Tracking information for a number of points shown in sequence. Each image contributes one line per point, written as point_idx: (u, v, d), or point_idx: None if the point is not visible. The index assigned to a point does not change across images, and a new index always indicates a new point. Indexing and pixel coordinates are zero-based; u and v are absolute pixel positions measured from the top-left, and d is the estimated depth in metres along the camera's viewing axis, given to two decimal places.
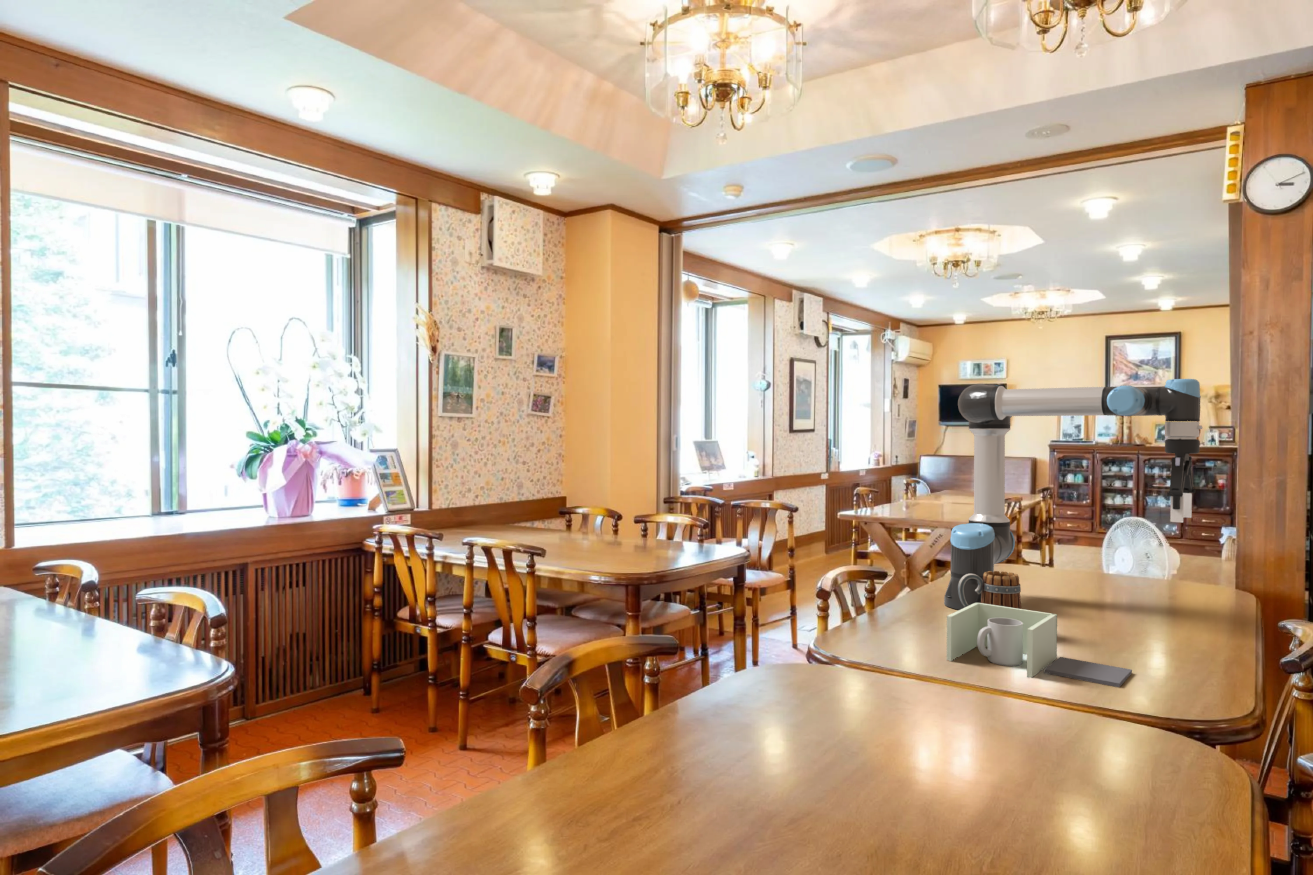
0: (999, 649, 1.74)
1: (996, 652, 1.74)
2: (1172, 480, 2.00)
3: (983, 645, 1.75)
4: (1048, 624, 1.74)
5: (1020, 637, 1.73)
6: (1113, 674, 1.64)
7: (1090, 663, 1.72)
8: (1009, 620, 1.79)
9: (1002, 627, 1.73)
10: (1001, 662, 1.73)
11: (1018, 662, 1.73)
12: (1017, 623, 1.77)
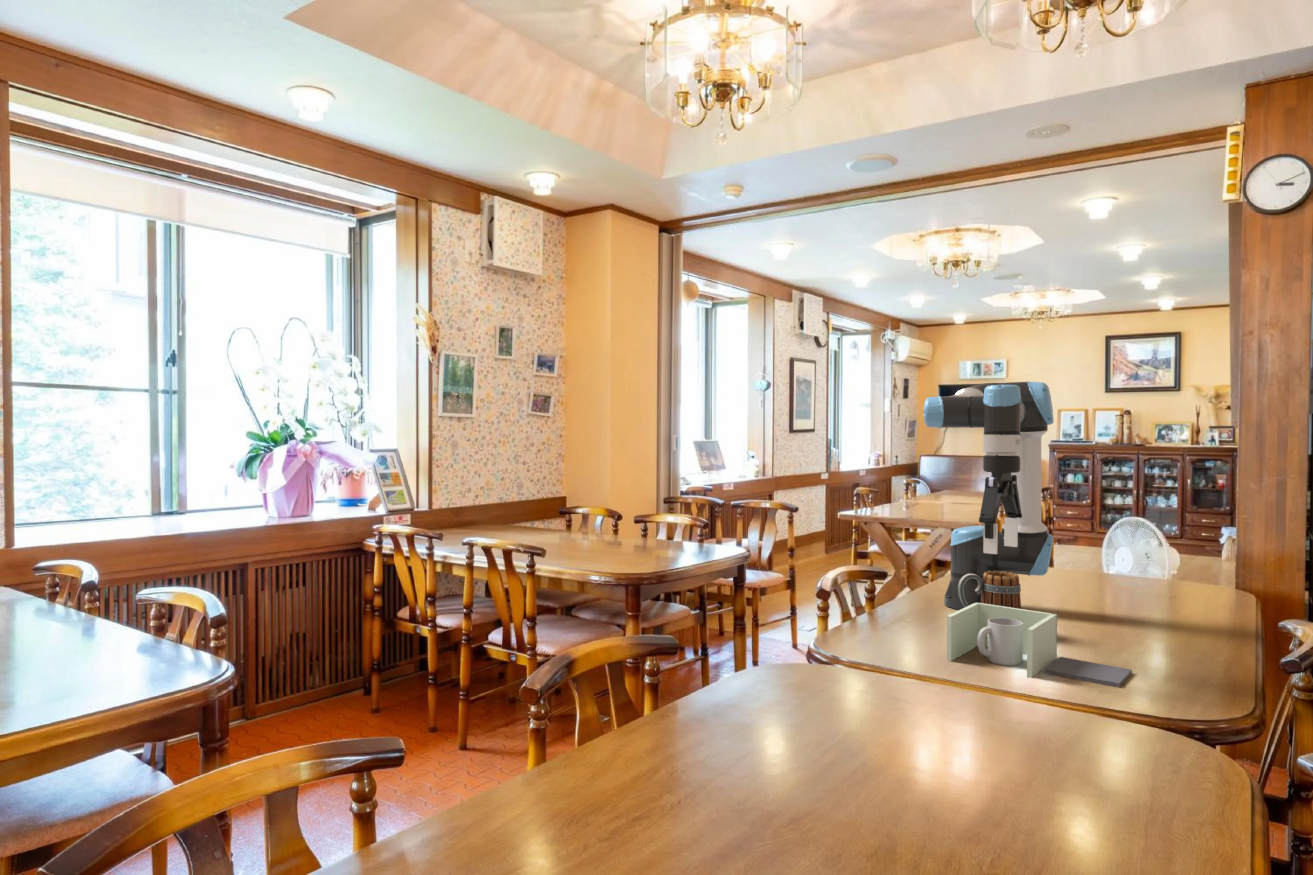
0: (999, 649, 1.74)
1: (996, 652, 1.74)
2: (983, 504, 1.70)
3: (983, 645, 1.75)
4: (1048, 624, 1.74)
5: (1020, 637, 1.73)
6: (1113, 674, 1.64)
7: (1090, 663, 1.72)
8: (1009, 620, 1.79)
9: (1002, 627, 1.73)
10: (1001, 662, 1.73)
11: (1018, 662, 1.73)
12: (1017, 623, 1.77)
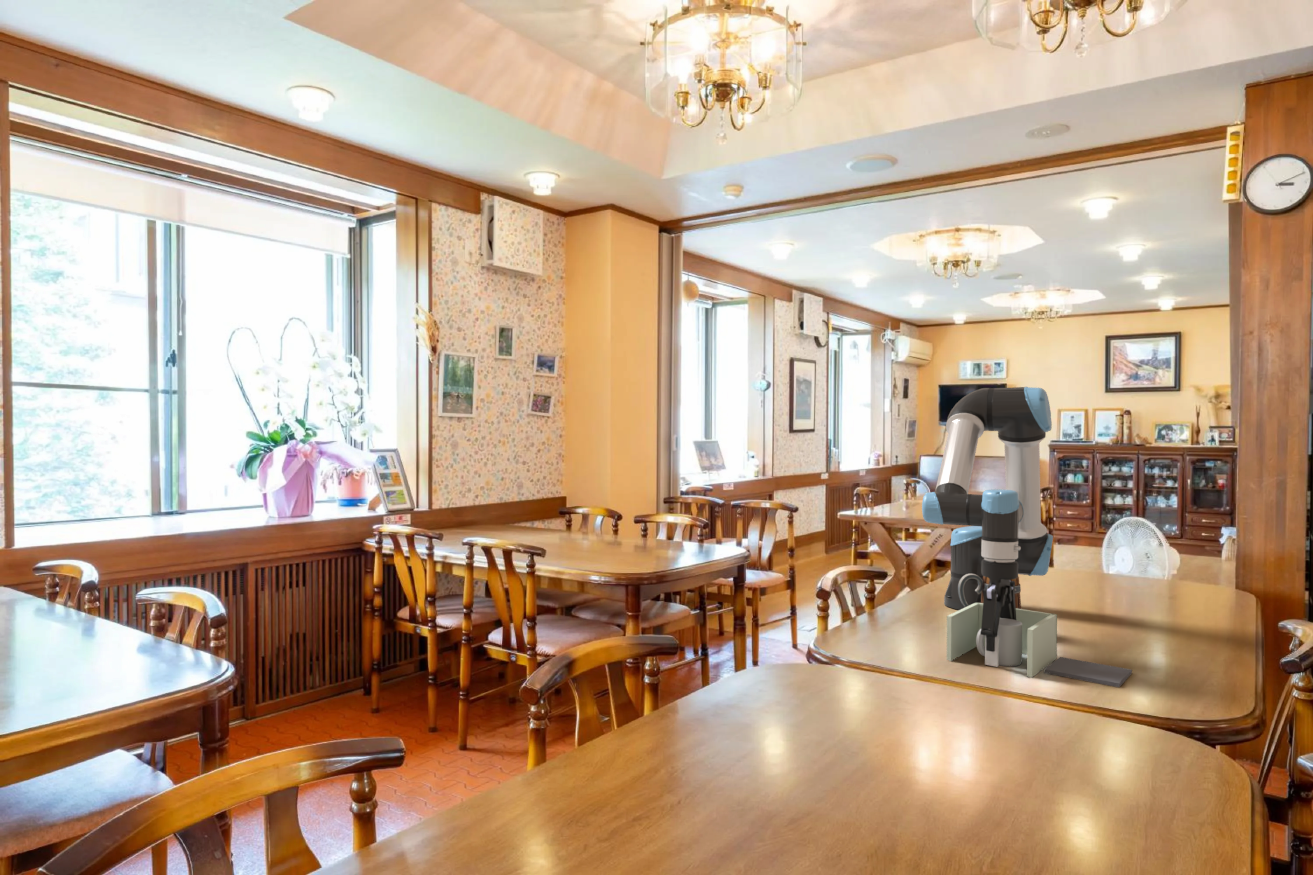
0: None
1: None
2: (984, 617, 1.71)
3: (982, 645, 1.75)
4: (1048, 624, 1.74)
5: (1019, 637, 1.73)
6: (1113, 674, 1.64)
7: (1090, 663, 1.72)
8: (1009, 620, 1.78)
9: (1001, 627, 1.73)
10: (1000, 662, 1.73)
11: (1017, 662, 1.73)
12: (1016, 623, 1.77)
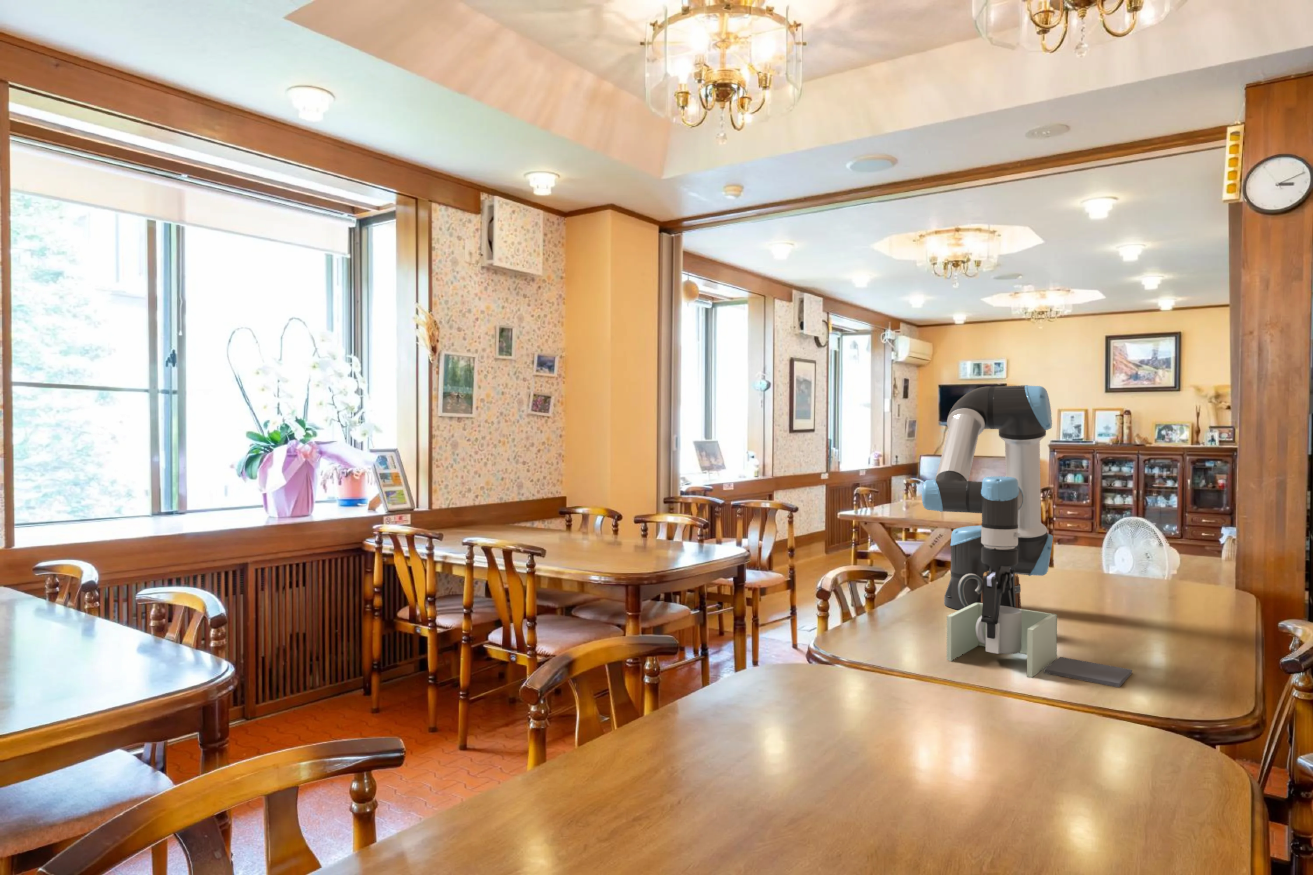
0: None
1: None
2: (984, 605, 1.71)
3: (981, 633, 1.75)
4: (1048, 624, 1.74)
5: (1019, 625, 1.73)
6: (1113, 674, 1.64)
7: (1090, 663, 1.72)
8: (1008, 608, 1.78)
9: (1000, 615, 1.73)
10: (999, 650, 1.73)
11: (1016, 650, 1.73)
12: (1016, 611, 1.77)
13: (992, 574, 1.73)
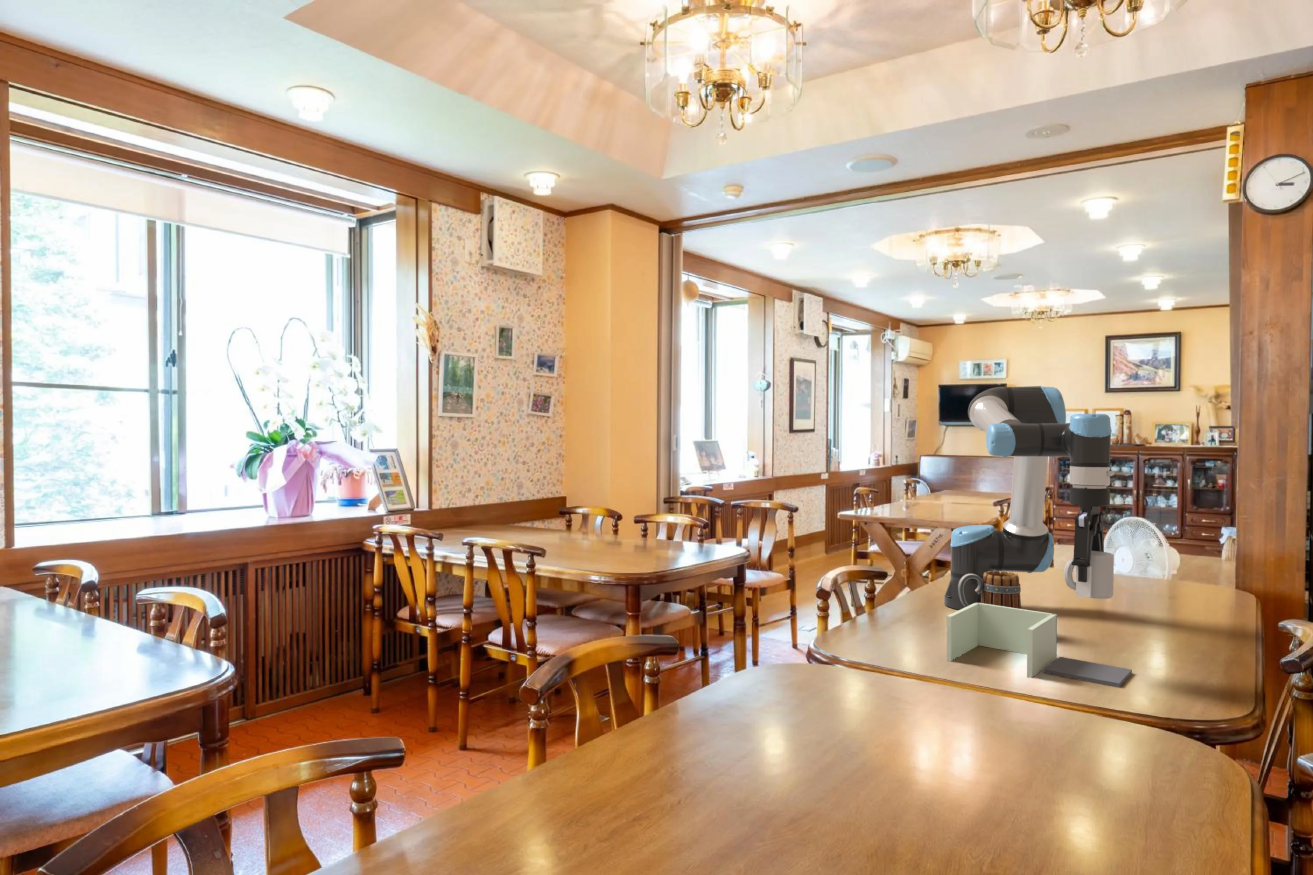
0: None
1: None
2: (1076, 546, 1.63)
3: (1071, 577, 1.66)
4: (1048, 624, 1.74)
5: (1111, 568, 1.64)
6: (1113, 674, 1.64)
7: (1090, 663, 1.72)
8: (1097, 553, 1.70)
9: (1092, 558, 1.64)
10: (1091, 595, 1.64)
11: (1109, 595, 1.64)
12: (1107, 555, 1.68)
13: (1083, 514, 1.64)
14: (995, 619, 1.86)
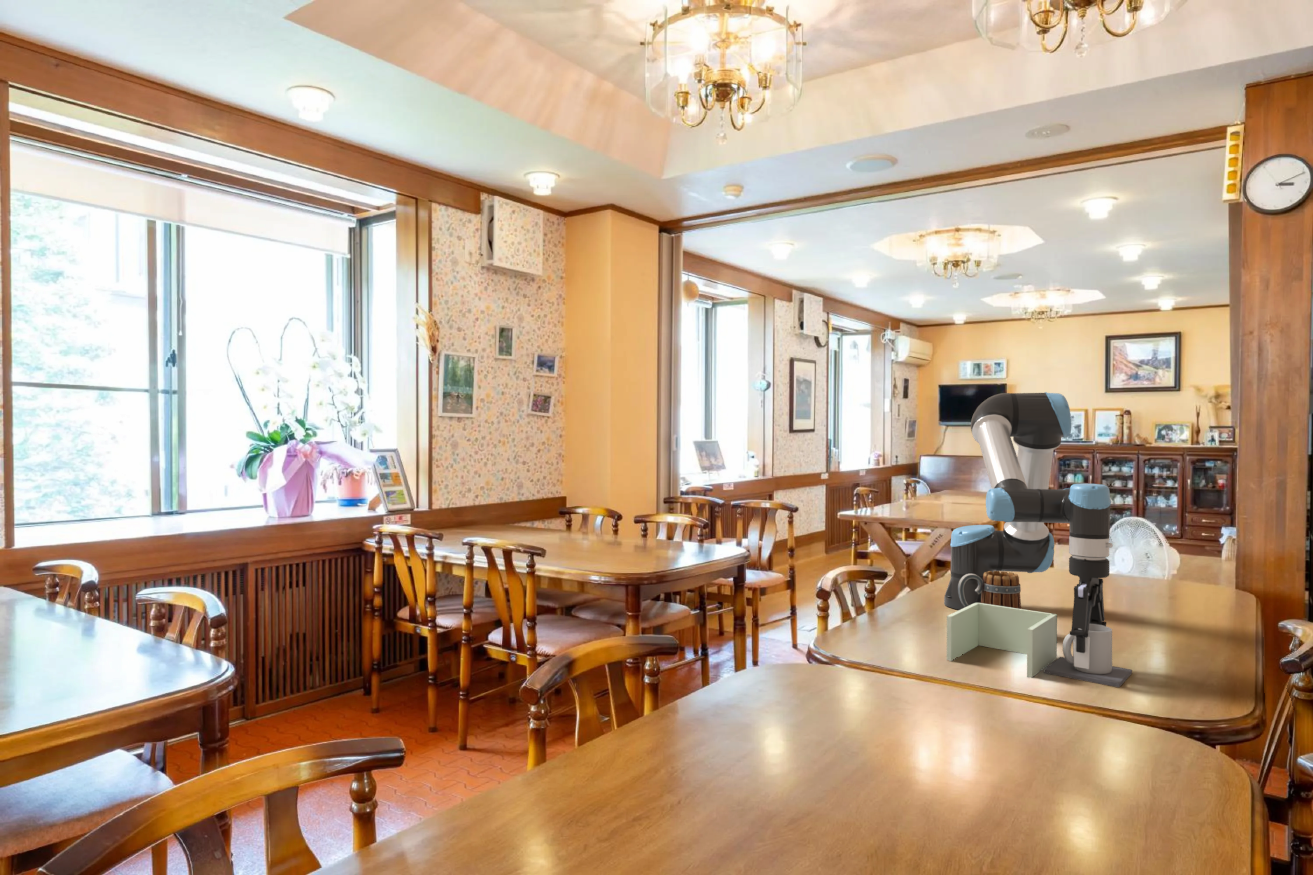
0: None
1: None
2: (1074, 617, 1.62)
3: (1069, 652, 1.67)
4: (1048, 624, 1.74)
5: (1109, 644, 1.65)
6: (1113, 674, 1.64)
7: None
8: (1096, 626, 1.70)
9: (1090, 633, 1.65)
10: (1089, 670, 1.65)
11: (1108, 670, 1.64)
12: (1105, 629, 1.68)
13: (1083, 585, 1.64)
14: (995, 619, 1.86)
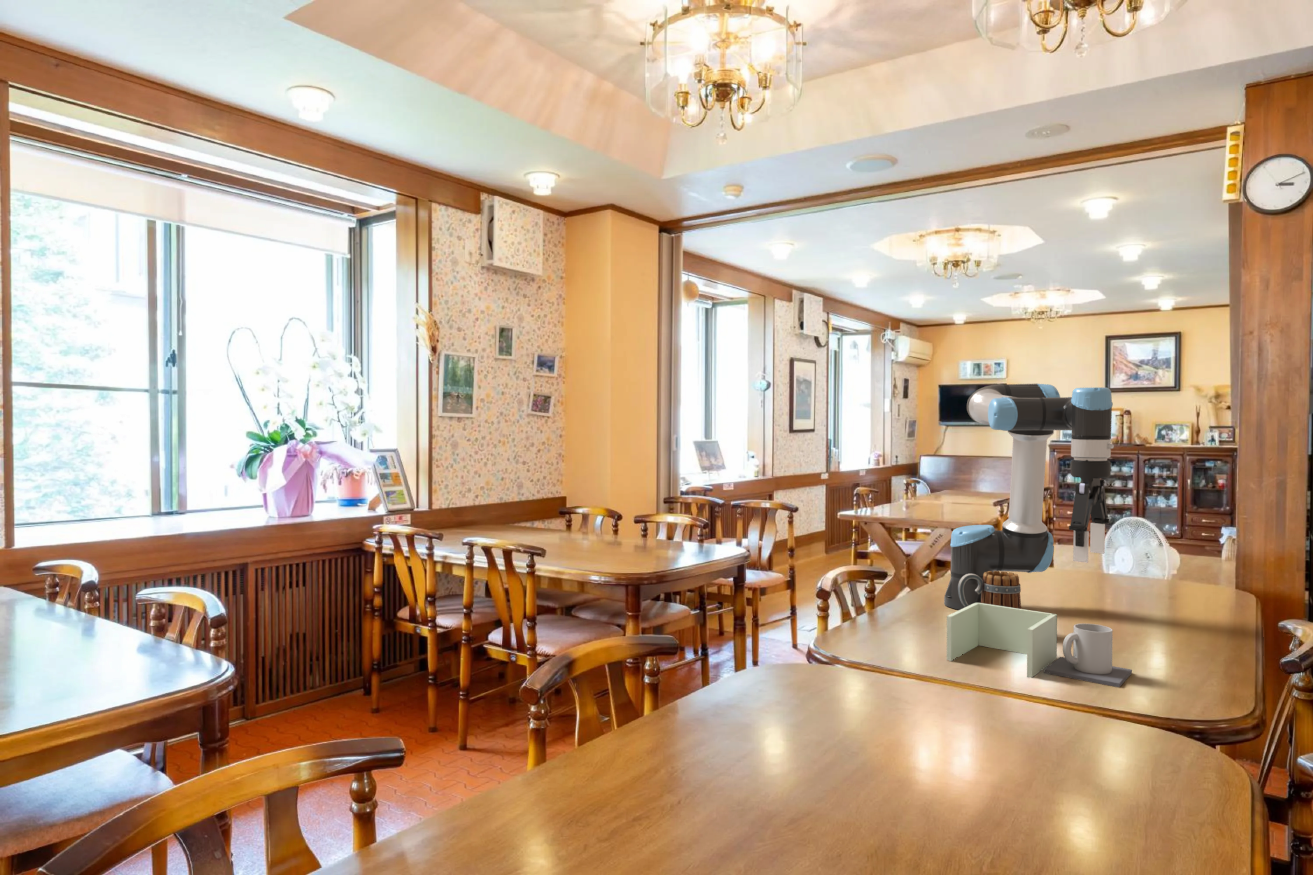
0: (1087, 657, 1.65)
1: (1083, 660, 1.66)
2: (1074, 511, 1.65)
3: (1069, 652, 1.67)
4: (1048, 624, 1.74)
5: (1110, 644, 1.65)
6: (1113, 674, 1.64)
7: None
8: (1096, 626, 1.70)
9: (1090, 634, 1.65)
10: (1089, 670, 1.65)
11: (1108, 671, 1.64)
12: (1105, 629, 1.68)
13: None
14: (995, 619, 1.86)
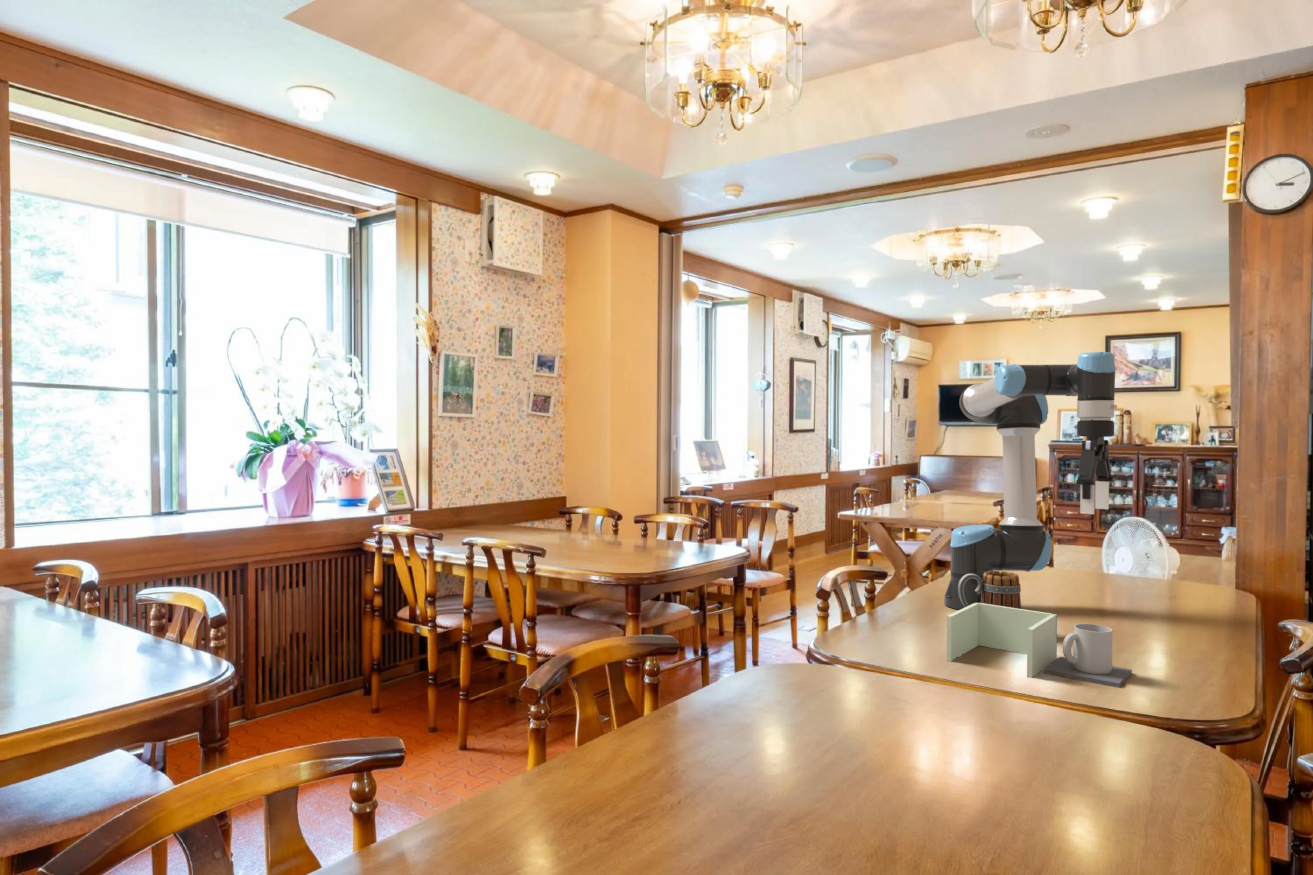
0: (1087, 657, 1.65)
1: (1083, 660, 1.66)
2: (1081, 466, 1.77)
3: (1069, 652, 1.67)
4: (1048, 624, 1.74)
5: (1110, 644, 1.65)
6: (1113, 674, 1.64)
7: None
8: (1096, 626, 1.70)
9: (1090, 634, 1.65)
10: (1089, 670, 1.65)
11: (1108, 671, 1.64)
12: (1106, 629, 1.68)
13: None
14: (995, 619, 1.86)
